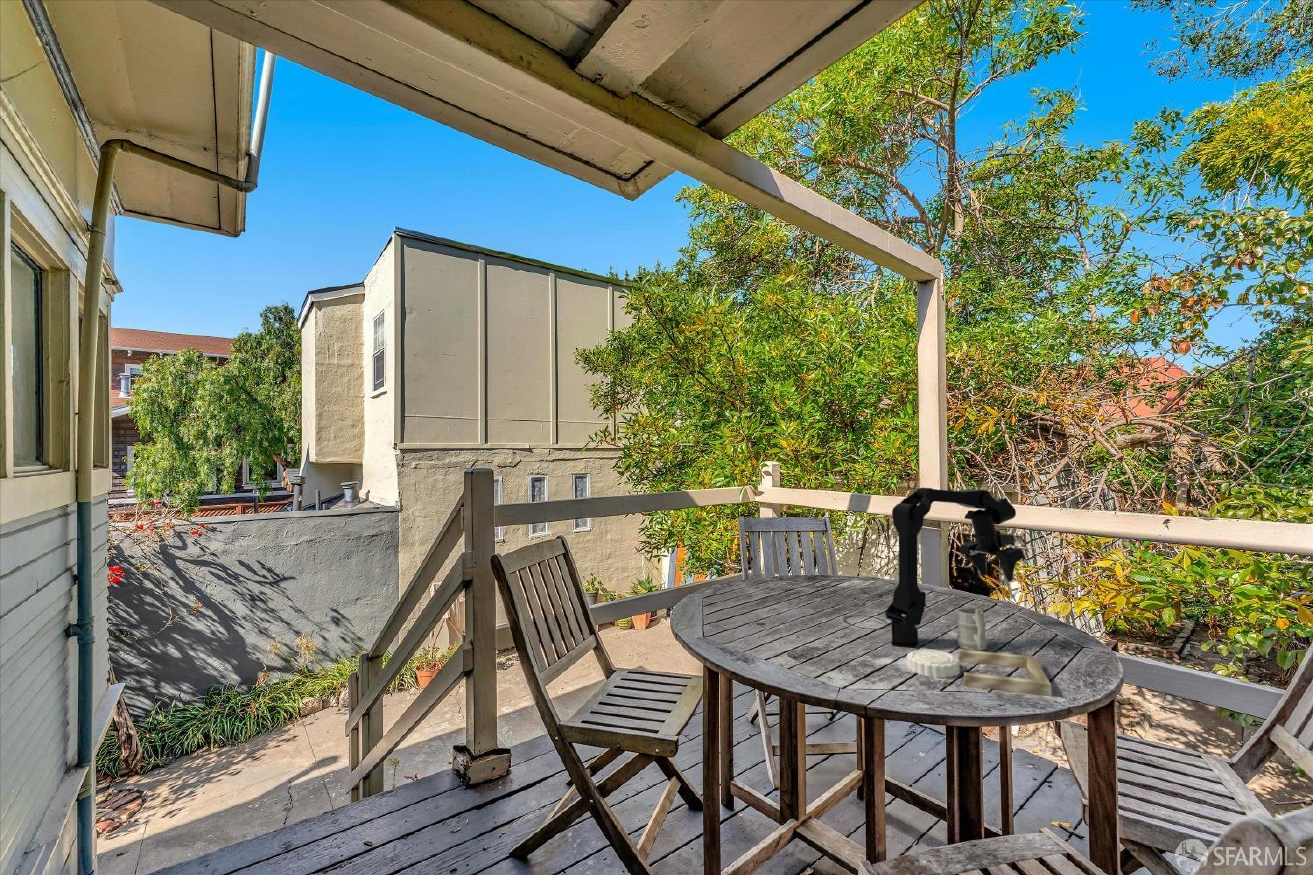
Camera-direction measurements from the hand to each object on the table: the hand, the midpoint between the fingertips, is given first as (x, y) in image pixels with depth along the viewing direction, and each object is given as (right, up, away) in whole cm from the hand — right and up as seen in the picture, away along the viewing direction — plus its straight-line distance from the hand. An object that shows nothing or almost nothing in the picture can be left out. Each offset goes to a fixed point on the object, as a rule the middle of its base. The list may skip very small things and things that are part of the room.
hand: (997, 578), depth 176 cm
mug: (-16, -16, -16) cm, 28 cm away
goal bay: (-21, -15, -35) cm, 43 cm away
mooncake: (-34, -16, -29) cm, 47 cm away
